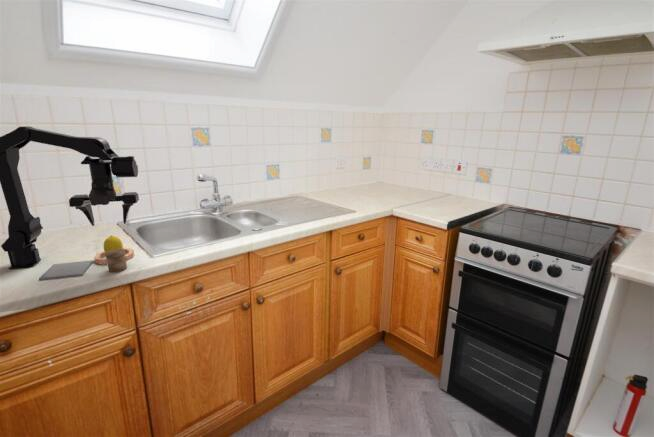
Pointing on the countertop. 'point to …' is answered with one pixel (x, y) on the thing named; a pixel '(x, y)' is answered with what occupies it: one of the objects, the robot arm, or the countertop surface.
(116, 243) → the lemon
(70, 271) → the slate coaster
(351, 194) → the countertop surface
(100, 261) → the c ring
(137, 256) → the countertop surface
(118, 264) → the walnut salt pot
